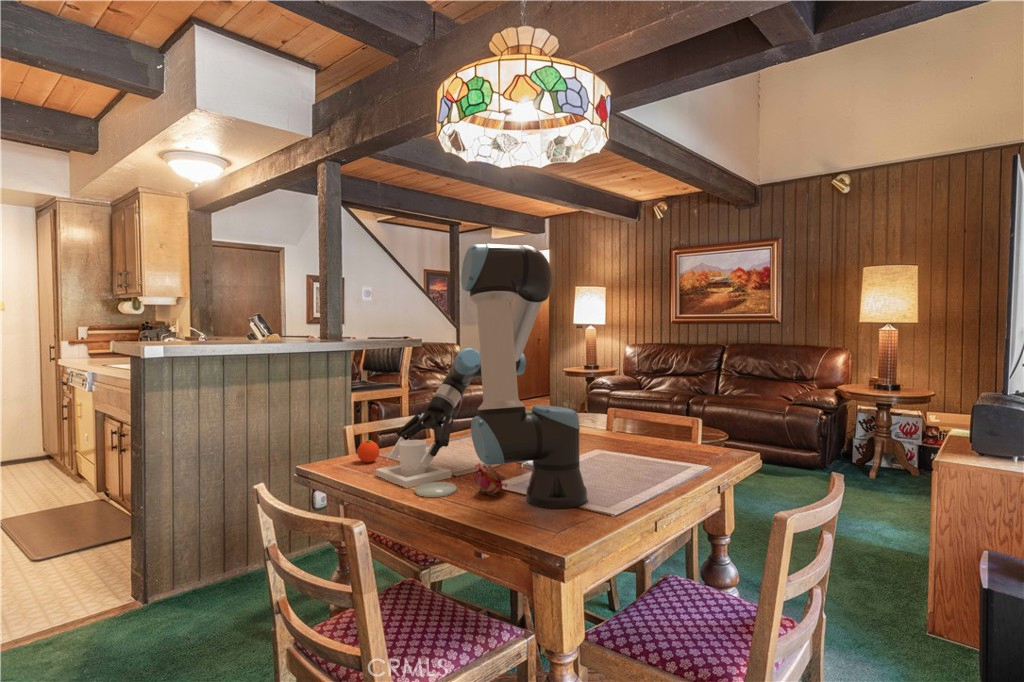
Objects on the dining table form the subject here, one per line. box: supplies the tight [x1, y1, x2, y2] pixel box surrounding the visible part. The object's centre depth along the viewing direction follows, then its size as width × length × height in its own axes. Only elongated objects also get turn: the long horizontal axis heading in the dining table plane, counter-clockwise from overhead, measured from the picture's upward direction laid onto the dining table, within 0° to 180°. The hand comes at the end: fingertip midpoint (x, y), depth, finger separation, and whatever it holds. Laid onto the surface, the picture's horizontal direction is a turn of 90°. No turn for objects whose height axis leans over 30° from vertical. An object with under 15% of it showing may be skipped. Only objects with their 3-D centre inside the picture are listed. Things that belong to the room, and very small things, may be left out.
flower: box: [472, 462, 509, 497], centre depth 143 cm, size 10×9×8 cm
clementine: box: [356, 439, 380, 464], centre depth 178 cm, size 8×7×7 cm
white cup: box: [398, 439, 427, 477], centre depth 160 cm, size 8×8×10 cm
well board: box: [375, 463, 452, 489], centre depth 160 cm, size 17×15×2 cm
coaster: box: [414, 481, 457, 498], centre depth 146 cm, size 11×11×1 cm
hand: (407, 461), depth 159 cm, fingers open, 13 cm apart
